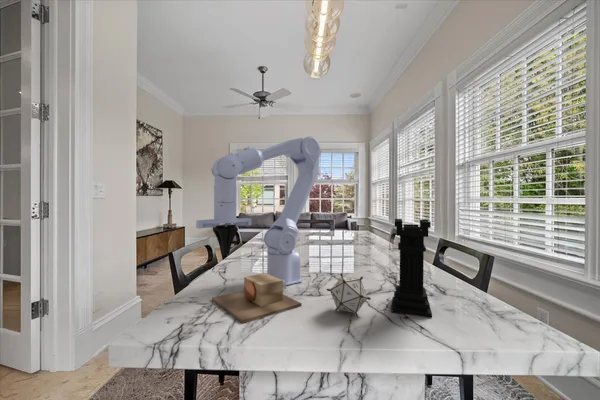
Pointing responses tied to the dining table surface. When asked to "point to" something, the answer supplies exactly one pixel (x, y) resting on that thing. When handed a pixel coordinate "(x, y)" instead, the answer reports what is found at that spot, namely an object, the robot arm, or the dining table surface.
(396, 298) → the chess piece
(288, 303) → the block
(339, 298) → the game die
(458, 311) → the dining table surface
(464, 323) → the dining table surface
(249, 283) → the pin
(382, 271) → the dining table surface
